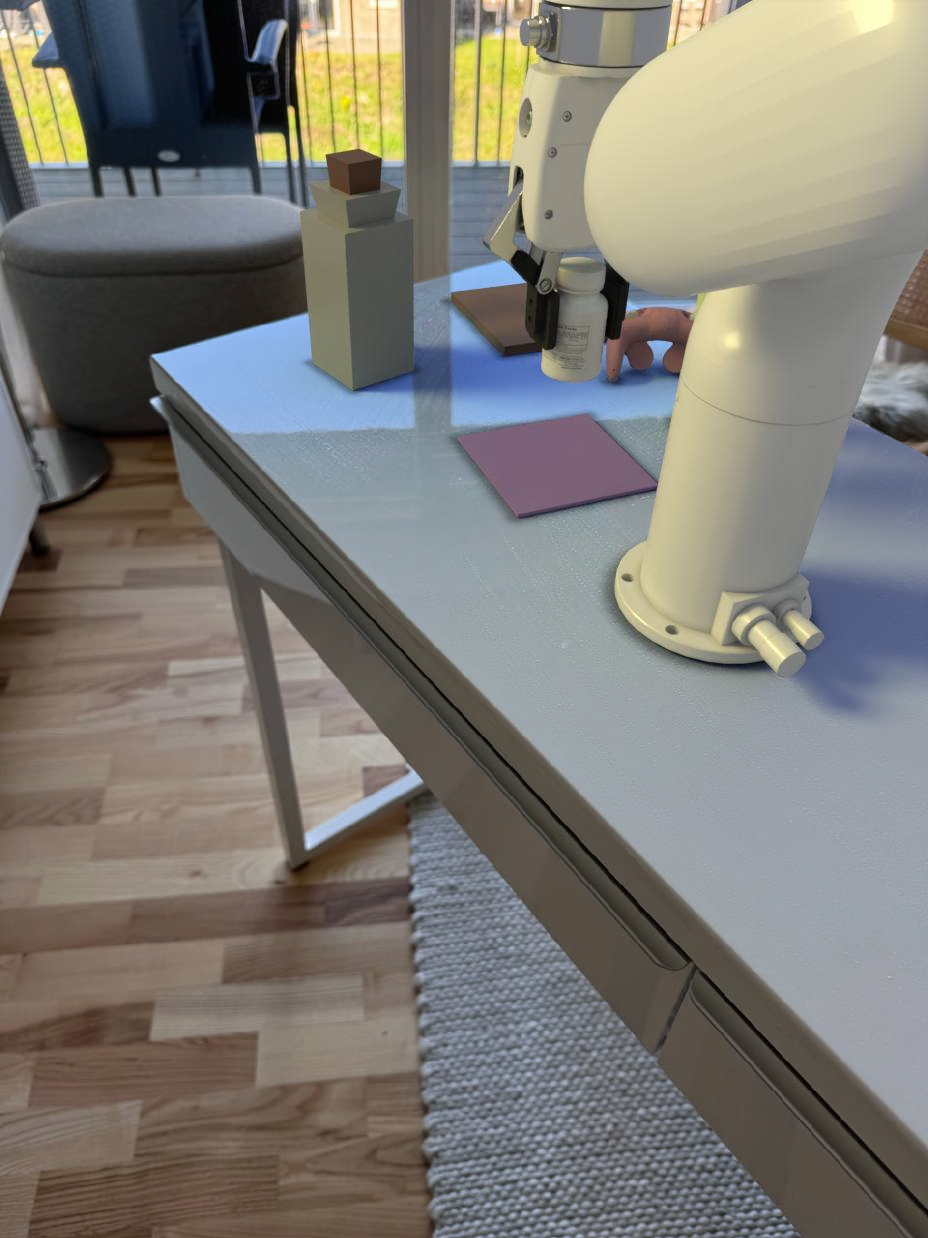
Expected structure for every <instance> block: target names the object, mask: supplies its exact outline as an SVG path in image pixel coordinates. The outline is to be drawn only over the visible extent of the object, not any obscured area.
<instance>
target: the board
mask: <svg viewBox="0 0 928 1238" xmlns="http://www.w3.org/2000/svg"><path fill="white" fill-rule="evenodd" d="M553 290H554V291H555V290H557V288H556V287H555V286H554V289H553ZM526 296H527V282H521V283H514V284H505V285H497V286H490V287H482V288H481V287H480V288H474V289H466V290H459V291H458V290H457V291H451V292H450V302H451V303H452V304H453V305H454V307H456V308H457V309H458V311H459V312H461V313H462V315H463V316H465V318H466V319H467V320H468V321H469V322H470V323H471V324H472V325H473V326H474V327H475V328H476V329H477V330H478V331H479V332H480V333H481V334H482V335H483V336H484V337H485V338H486V339H487V340H488V342H490V344H492V346H494V348H495V349H496V350H498V352H499V353H500V354H501V355H502V356H503V357H508V356H509V357H510V356H515V355H522V354H523V355H524V354H530V353H535V352H542V347H541V346H540V345H539V344H537V343H536V342H535V341H534V340H533V339H532V338H531V337H530V336H529V333H528V332H527V330H526V328H525V312H526ZM607 340H608V338H607V337H606V336H605V338H604V342H607Z"/></svg>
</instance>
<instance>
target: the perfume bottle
mask: <svg viewBox="0 0 928 1238" xmlns="http://www.w3.org/2000/svg"><path fill="white" fill-rule="evenodd" d="M324 156H325V160H326V168H327V174H328V179H323V180H319V181H313V182H309V183H308V185H309V188H310V192H311V194H312V197H313V200H314V203H315V206H316V207H314V208H313V207H312V208H309V209H304V210H300V211H299V219H300V231H301V244H302V255H303V267H304V277H305V278H304V279H305V291H306V302H307V303H306V304H307V314H308V315H307V316H308V328H309V338H310V352H311V363H312V364H313V365H315V367H318V368H319V369H320V370H322V371H323V372H325V373H326V374H328V375H329V376H331V377H332V378H334V379H335V380H336V381H338V382H340V383H341V384H343V385H344V386H345V387H347V388H348V389H350V390H351V391H353V392H354V391H356V390H359V389H363V388H366V387H369V386H372V385H375V384H378V383H381V382H384V381H387V380H390V379H394V378H396V377H399V376H403V375H405V374H408V373H409V374H410V373H412V372H415V333H414V332H415V310H414V309H415V308H414V307H415V301H414V299H415V295H414V294H415V293H414V291H415V289H414V288H415V287H414V281H415V280H414V279H415V278H414V277H415V275H414V273H415V272H414V218H413V217H410V216H408V215H406V214H405V213H402V212H399V211H397V207H398V204H399V200H400V196H401V192H402V188H400V187H398V186H395V185H393V184H390V183H388V182H386V181H384V180H382V167H383V165H382V164H383V158H382V157H381V156H379V155H376V154H373V153H372V152H371V153H370V152H368V151H366V150H364V149H361V148H355V149H349V150H343V151H336V152H332V153H331V152H330V153H326V154H325V155H324Z"/></svg>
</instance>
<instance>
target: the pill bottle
mask: <svg viewBox="0 0 928 1238" xmlns="http://www.w3.org/2000/svg"><path fill="white" fill-rule="evenodd" d="M605 273H606V266H605V262H602V261H601V260H598V259H596V258H591V257H585V256H574V257H573V256H572V257H571V256H570V257H565V258H562V259H561V262H560V265H559V269H558V272H557V276H556V279H555V283H554V286H555V287H556V288H557V290H555V291H556V292H557V293H558V294H559V295H560V305H559V317H558V328H557V339H556V346H555V347H554V349H552V350H544V349H543V348H542V351H541V358H540V360H541V361H540V363H541V364H540V368H541V371H542V374H544V375H545V376H546V377H548V378H550V379H552V380H554V381H558V382H562V383H569V384H579V383H580V384H581V383H587V382H590V381H592V380H593V379H596V378H597V377H598V376H599V375H600V373H601V370H602V363H603V355H604V344H605V341H604V338H605V329H606V321H607V313H608V302H607V299H606V298H605V296H604V295H603V294H601V293H600V291H601V290H602V289H603V287H604V283H605Z"/></svg>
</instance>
